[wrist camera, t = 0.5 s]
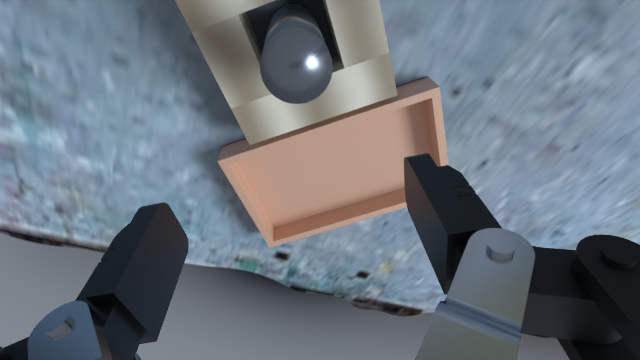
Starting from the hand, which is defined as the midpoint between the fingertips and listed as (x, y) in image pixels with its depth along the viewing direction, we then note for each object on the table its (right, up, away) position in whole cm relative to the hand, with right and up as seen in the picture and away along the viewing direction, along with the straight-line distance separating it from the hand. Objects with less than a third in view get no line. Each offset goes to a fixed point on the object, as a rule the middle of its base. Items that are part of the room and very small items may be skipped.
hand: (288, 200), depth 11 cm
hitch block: (-1, +14, +18) cm, 23 cm away
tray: (+3, +3, +26) cm, 26 cm away
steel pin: (-1, +14, +18) cm, 23 cm away
